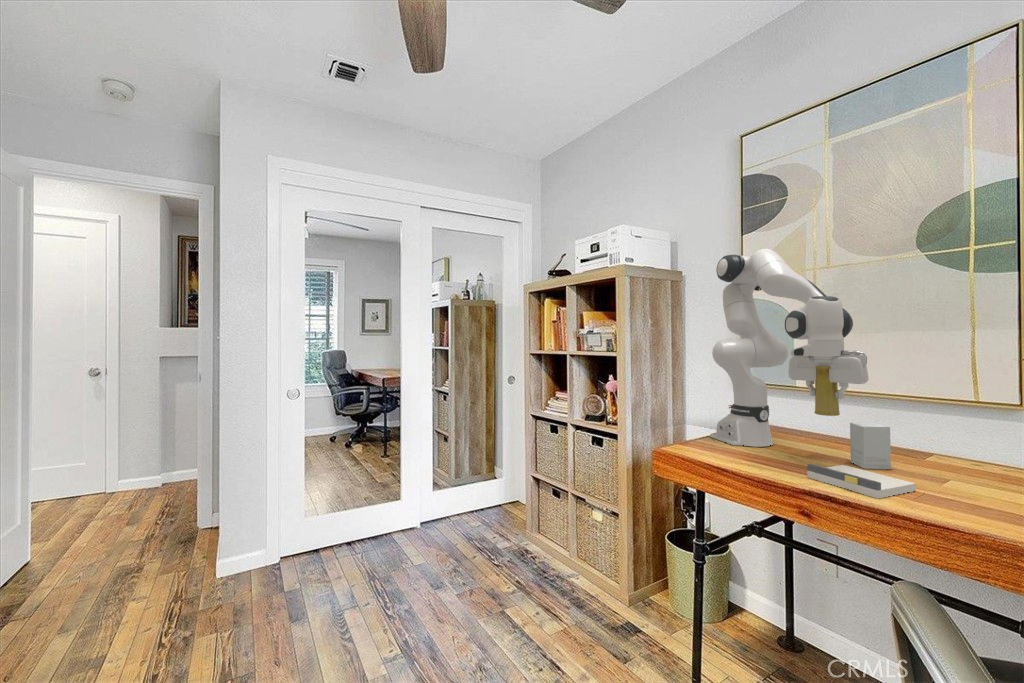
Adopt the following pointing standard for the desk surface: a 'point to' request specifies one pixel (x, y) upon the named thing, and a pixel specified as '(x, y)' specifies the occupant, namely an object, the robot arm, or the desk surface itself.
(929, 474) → the desk surface
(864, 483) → the shelf board
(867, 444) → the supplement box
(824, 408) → the vase
